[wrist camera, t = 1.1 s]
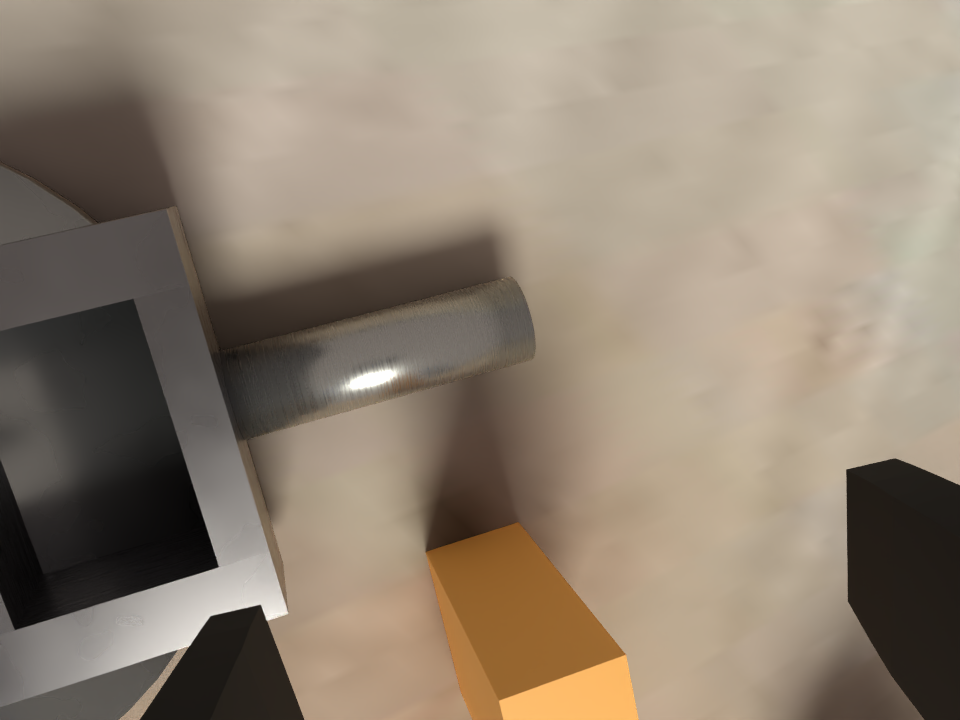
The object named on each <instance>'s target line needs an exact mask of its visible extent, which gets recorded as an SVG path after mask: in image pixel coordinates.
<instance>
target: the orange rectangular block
mask: <svg viewBox="0 0 960 720" xmlns="http://www.w3.org/2000/svg"><path fill="white" fill-rule="evenodd" d="M426 555H427V559H428V563H429V567H430V571H431V575H432V579H433V583H434V587H435V591H436V595H437V599H438V603H439V607H440V611H441V615H442V619H443V623H444V627H445V631H446V635H447V639H448V643H449V647H450V651H451V655H452V659H453V663H454V667H455V670H456V674H457V678H458V682H459V686H460V690H461V694H462V696H463V698H464V701H465V703H466V705H467V708H468V710H469V712H470V715H471V717H472V720H638V715H637V709H636V704H635V699H634V694H633V689H632V684H631V679H630V673H629V668H628V663H627V658H626V654H625V653H624V652H623V651H622V649H621V648H620V647H619V646H618V644H617V643H616V642H615V641H614V639H613V638H612V637H611V636H610V635H609V633H608V632H607V631H606V630H605V628H604V627H603V626H602V625H601V623H600V622H599V621H598V620H597V618H596V617H595V616H594V615H593V614H592V612H591V611H590V610H589V609H588V607H587V606H586V605H585V604H584V602H583V601H582V600H581V599H580V597H579V596H578V595H577V594H576V593H575V591H574V590H573V589H572V588H571V586H570V585H569V584H568V583H567V581H566V580H565V579H564V578H563V577H562V575H561V574H560V573H559V572H558V570H557V569H556V568H555V567H554V565H553V564H552V563H551V562H550V560H549V559H548V558H547V557H546V556H545V554H544V553H543V552H542V551H541V549H540V548H539V547H538V546H537V544H536V543H535V542H534V541H533V539H532V538H531V537H530V536H529V535H528V533H527V532H526V531H525V530H524V528H523V527H522V526H521V525H520V523H519V522H517V523H514V524H511V525H508V526H505V527H502V528H499V529H495V530H492V531H489V532H486V533H483V534H480V535H477V536H474V537H470V538H467V539H464V540H461V541H458V542H455V543H452V544H449V545H445V546H442V547H439V548H436V549H433V550H430V551H427V552H426Z"/></svg>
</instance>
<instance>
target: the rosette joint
mask: <svg viewBox="0 0 960 720" xmlns="http://www.w3.org/2000/svg"><path fill="white" fill-rule="evenodd" d="M534 355H535V335H534V328H533V323H532V319H531V315H530V312H529V308H528V305H527V302H526V300H525V297H524V295H523V293H522V291H521V289H520V287H519V285H518V284H517V282H516V281H515V280H514V279H513V278H512V277H506V278H502V279H498V280H494V281H491V282H487V283H483V284H479V285H475V286H471V287H467V288H464V289H460V290H456V291H452V292H448V293H444V294H440V295H436V296H433V297H429V298H425V299H421V300H417V301H413V302H409V303H405V304H402V305H398V306H394V307H390V308H386V309H382V310H378V311H374V312H371V313H367V314H363V315H359V316H355V317H351V318H347V319H343V320H340V321H336V322H332V323H328V324H324V325H320V326H316V327H312V328H309V329H305V330H301V331H297V332H293V333H289V334H285V335H281V336H278V337H274V338H270V339H266V340H262V341H258V342H254V343H251V344H247V345H243V346H239V347H235V348H231V349H227V350H223V351H220V350H219V347H218V343H217V340H216V337H215V333H214V330H213V327H212V323H211V320H210V317H209V313H208V310H207V307H206V303H205V300H204V296H203V293H202V290H201V286H200V283H199V280H198V276H197V273H196V270H195V266H194V263H193V260H192V256H191V253H190V250H189V246H188V243H187V239H186V236H185V233H184V229H183V226H182V223H181V219H180V216H179V213H178V209H177V206H173V207H168V208H164V209H159V210H155V211H150V212H146V213H141V214H137V215H132V216H128V217H123V218H119V219H114V220H110V221H105V222H101V223H98V222H96V221H95V220H94V219H93V218H92V217H90V216H89V215H88V214H87V213H86V212H84V211H83V210H82V209H81V208H79V207H78V206H77V205H75V204H73V203H72V202H70V201H69V200H67V199H66V198H64V197H63V196H61V195H59V194H58V193H56V192H55V191H53V190H52V189H50V188H49V187H47V186H45V185H44V184H42V183H41V182H39V181H38V180H36V179H34V178H32V177H30V176H28V175H26V174H24V173H22V172H20V171H18V170H16V169H14V168H12V167H10V166H8V165H6V164H4V163H2V162H0V720H118V719H120V718H121V717H122V716H123V715H124V714H125V713H126V712H128V711H129V710H130V709H131V708H132V706H133V705H134V704H135V703H136V702H137V701H138V700H139V699H140V698H141V696H142V695H143V694H144V693H145V692H146V691H147V690H148V689H149V688H150V686H151V685H152V684H153V683H154V682H155V681H156V680H157V679H158V678H159V676H160V675H161V673H162V672H163V670H164V669H165V667H166V666H167V665H168V663H169V662H170V660H171V659H172V657H173V656H174V655H175V653H176V652H177V650H178V649H181V648H184V647H188V646H190V645H191V643H192V642H193V640H194V639H195V638H196V636H197V635H198V633H199V632H200V630H201V629H202V627H203V626H204V624H205V623H206V622H207V620H208V619H209V617H210V616H213V615H217V614H222V613H226V612H230V611H235V610H239V609H243V608H248V607H252V606H256V605H261V606H262V609H263V612H264V614H265V617H266V620H267V621H268V620H271V619H274V618H277V617H280V616H283V615H286V614H288V606H287V597H286V587H285V578H284V568H283V561H282V558H281V555H280V551H279V548H278V545H277V541H276V538H275V535H274V531H273V528H272V524H271V521H270V518H269V514H268V511H267V508H266V504H265V501H264V498H263V494H262V491H261V488H260V484H259V481H258V478H257V474H256V471H255V467H254V464H253V461H252V457H251V454H250V451H249V447H248V444H247V441H246V440H247V439H251V438H255V437H258V436H262V435H265V434H269V433H272V432H276V431H280V430H283V429H287V428H290V427H294V426H297V425H301V424H304V423H308V422H312V421H315V420H319V419H322V418H326V417H329V416H333V415H337V414H340V413H344V412H347V411H351V410H354V409H358V408H361V407H365V406H369V405H372V404H376V403H379V402H383V401H386V400H390V399H394V398H397V397H401V396H404V395H408V394H411V393H415V392H419V391H422V390H426V389H429V388H433V387H436V386H440V385H443V384H447V383H451V382H454V381H458V380H461V379H465V378H468V377H472V376H476V375H479V374H483V373H486V372H490V371H493V370H497V369H500V368H504V367H508V366H511V365H515V364H518V363H522V362H525V361H529V360H532V359H533V358H534Z"/></svg>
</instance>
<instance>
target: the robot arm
mask: <svg viewBox="0 0 960 720" xmlns="http://www.w3.org/2000/svg"><path fill="white" fill-rule="evenodd" d="M846 475H847V558H848V602H849V604H850V606H851V607H852V609H853V611H854V613H855V614H856V616H857V618H858V620H859V622H860V623H861V625H862V627H863V629H864V630H865V632H866V634H867V636H868V637H869V639H870V641H871V643H872V644H873V646H874V648H875V649H876V651H877V653H878V654H879V656H880V658H881V659H882V661H883V662H884V664H885V666H886V667H887V669H888V671H889V672H890V674H891V676H892V677H893V678H894V680H895V681H896V682H897V684H898V685H899V686H900V688H901V689H902V690H903V692H904V693H905V694H906V696H907V697H908V698H909V700H910V701H911V702H912V704H913V705H914V706H915V708H916V709H917V710H918V711H919V713H920V714H921V715H922V717H923V718H924V719H925V720H960V485H958V484H955V483H953V482H951V481H949V480H946V479H944V478H942V477H940V476H937V475H935V474H933V473H930V472H928V471H926V470H923V469H921V468H918V467H916V466H914V465H911V464H909V463H906V462H903V461H901V460H898V459H890V460H886V461H882V462H877V463H873V464H869V465H864V466H860V467H856V468H851V469H847V470H846ZM140 720H304V718H303V715H302V712H301V710H300V707H299V704H298V702H297V699H296V696H295V694H294V691H293V689H292V686H291V683H290V681H289V678H288V675H287V673H286V670H285V667H284V665H283V662H282V659H281V657H280V654H279V651H278V649H277V646H276V644H275V641H274V638H273V636H272V633H271V630H270V628H269V625H268V622H267V620H266V617H265V614H264V612H263V609H262V606H261V605H256V606H252V607H248V608H243V609H239V610H235V611H230V612H226V613H222V614H217V615H213V616H210V617H209V619H208V620H207V622H206V623H205V624H204V626H203V627H202V629H201V630H200V632H199V633H198V635H197V636H196V638H195V639H194V640H193V642H192V643H191V645H190V646H189V648H188V649H187V651H186V652H185V654H184V655H183V657H182V658H181V660H180V661H179V663H178V664H177V666H176V667H175V669H174V670H173V672H172V673H171V675H170V676H169V678H168V679H167V681H166V682H165V684H164V685H163V686H162V688H161V689H160V691H159V692H158V694H157V695H156V697H155V698H154V700H153V701H152V703H151V704H150V706H149V707H148V709H147V710H146V712H145V713H144V715H143V716H142V717H141V719H140Z"/></svg>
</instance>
